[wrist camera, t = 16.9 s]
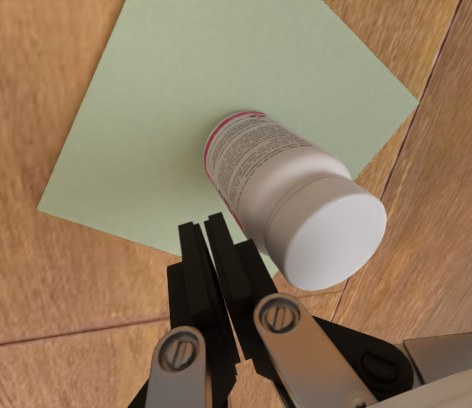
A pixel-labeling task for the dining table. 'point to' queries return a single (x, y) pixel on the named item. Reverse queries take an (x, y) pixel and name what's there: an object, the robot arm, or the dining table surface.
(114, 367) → the dining table surface
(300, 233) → the pill bottle
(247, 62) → the mat
